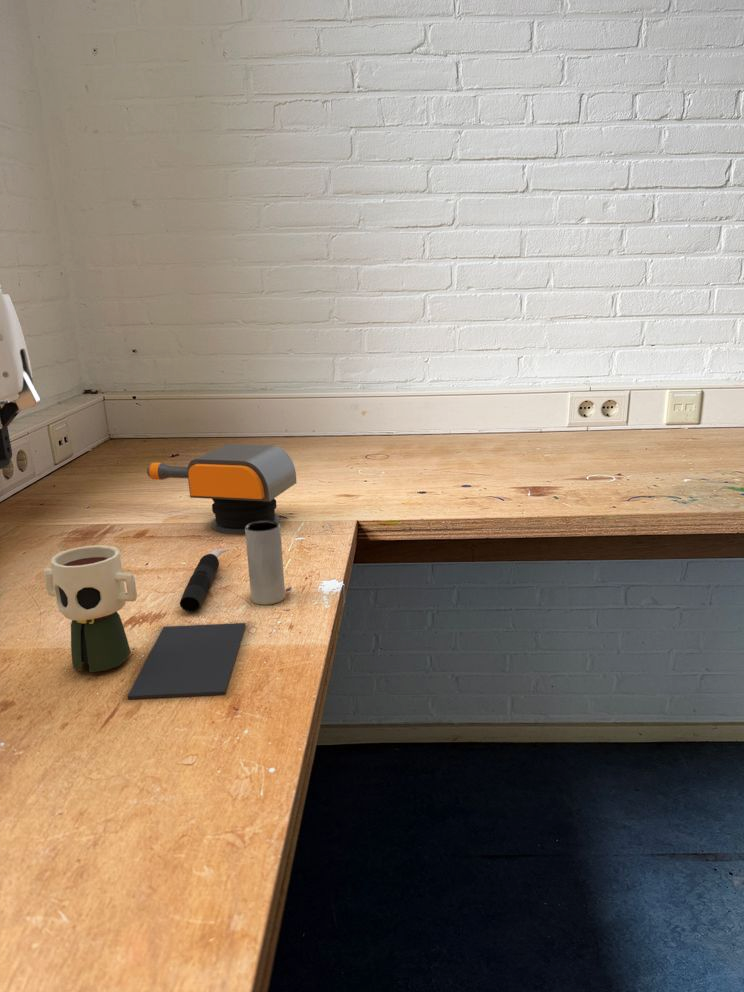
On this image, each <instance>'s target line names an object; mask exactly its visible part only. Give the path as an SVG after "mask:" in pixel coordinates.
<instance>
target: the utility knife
mask: <svg viewBox="0 0 744 992" xmlns="http://www.w3.org/2000/svg"><path fill="white" fill-rule="evenodd" d="M232 550H233V548H221V549H220V548H219V549H215V550H212V551H211V552H210V553H207V554H204V555H203V556H201V558H200V559H199V562H198V563H197V565H196V567H195V568H194V570H193V573H192V575H191V576H190V578H189V580H188V583H187V584H186V586H185V588H184V591H183V593H182V596H181V598H180V600H179V606H180V608H181V609H182V610H184V611H185V612H189V613H192V612H197V611H198V610H199V609H200V607H201V605H202V603H203V602H204V600H205V598H206V596H207V594H208V591H209V590H210V588H211V585H212V582H213V580H214V579H215V576H216V573H217V571H218V569H219V566H220V562H219V558H218V557H219V556H220V555H222V554H223V553H225V552H229V551H232Z"/></svg>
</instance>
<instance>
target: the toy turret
mask: <svg viewBox="0 0 744 992" xmlns="http://www.w3.org/2000/svg"><path fill="white" fill-rule="evenodd" d="M146 473H147V476H148V477H149V478H151V479H152V480H158V481H163V480H167V479H187V482H188V490H189V498H191V499H207V500H209V499H211V500H212V501H213V503H212V504H211V509H212V510H211V511H212V513H213V514H214V518H215V519H213V520H212V521H211V523H210V527H211V529H212V530H213V531H215V532H217V533H221V534H227V535H228V534H229V535H245V526H246V525H247V524H249V523H252V522H256V521H275V522H278V523H279V524H280V525H281V517H280V516H279V515H278V514H276V509H277V508H278V507H277V499H276V498H277V497H278V496H280V495H282V494H283V493H285V492H286V491H287V490H289V489H290V488H291V487H293V486H294V485H296V484H297V471H296V467H295V464H294V461H293V459H292V458H291V457H290V455H289V453H288V452H287V451H286V450H285V449H283V448H282V447H280V446H277V445H270V444H268V445H267V444H242V443H241V444H239V443H238V444H237V443H235V444H234V443H227V444H224V445H222V446H220V447H217V448H216V449H213V450H211V451H209V452H207V453H205V454H202V455H199V456H198V457H196V458H194V459H192V460H190V461H189V463H188V465H187V466H186V465H185V466H183V465H181V466H180V465H170V464H166V463H164V462H151V463H150V464H149V465H148V466H147V468H146Z"/></svg>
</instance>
